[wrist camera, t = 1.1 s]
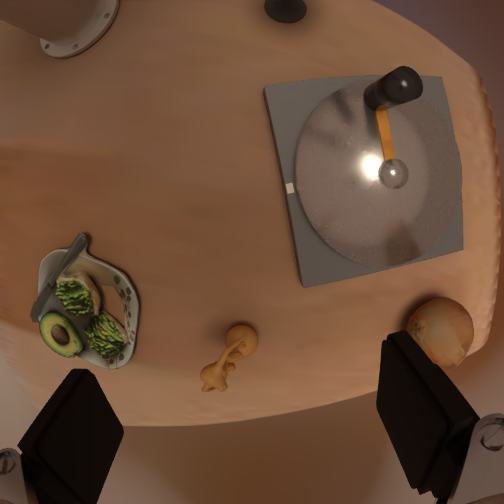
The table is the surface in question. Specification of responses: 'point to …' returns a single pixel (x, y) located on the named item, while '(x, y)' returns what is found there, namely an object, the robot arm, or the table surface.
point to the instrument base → (286, 139)
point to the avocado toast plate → (84, 307)
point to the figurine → (229, 357)
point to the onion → (442, 331)
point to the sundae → (285, 10)
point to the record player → (379, 170)
